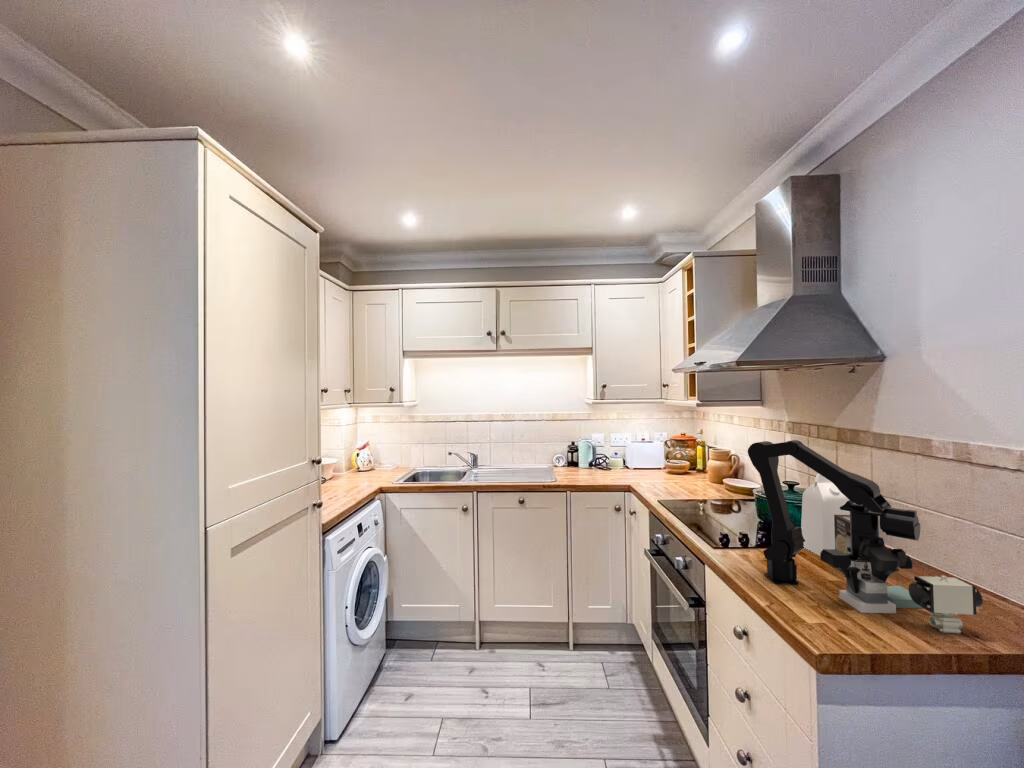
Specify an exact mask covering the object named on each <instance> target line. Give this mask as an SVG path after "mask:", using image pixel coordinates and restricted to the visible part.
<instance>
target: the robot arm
mask: <svg viewBox="0 0 1024 768" xmlns="http://www.w3.org/2000/svg"><path fill="white" fill-rule="evenodd" d="M747 454H748V457H749V459H750V461H751V464H752V465H753V467H754V468H755V470H756V471H757V472H758V473H759V476H760V480H761V484H762V487H763V492H764V496H765V500H766V502H767V503H766V504H767V507H768V510H769V515H770V519H771V521H772V525H771V533H770V538H771V545H770V546H769V547H767V548H766V549H764V550H763V551H762V553H763V555H764V558H765V560H766V572H764V573H763V574H764V576H765V577H766V578H768V579H769V580H770V581H771V582H772V583H774V584H777V585H779V584H780V585H799V581H798V580H797V579H798V574H797V573H798V571H797V568H798V566H797V564H796V560H795V559H794V558H795V557H796V555H797V554H798V553H800V552H801V551H802V550H803V549H804V548H803V546H804V544H803V542H805V539H804V538H803V535H802V529H801V526H796V525H794V523H793V522H792V519H791V515H790V514H789V510H788V506H787V501H786V498H785V495H784V491H783V487H782V483H781V479H780V476H779V473H778V472H779V471H778V468H779V461H780V460H779V459H780V458H779V457H782V456H791V457H792V458H794V459H796V460H798V462H801V463H802V464H803V465H805V466H806V467H808V468H810V469H811V470H812V471H814V472H816V474H820V475H822V476H823V477H825V478H826V479H828V480H829V481H831V482H832V483H833V484H834V485H835V486H836V487H837V488H838V489H839V491H840V492H841V493H842V494H843V495H845V496H846V497H847V498H848V499H849V501H847V502H846V503H845V504H844V505H843V506H841V507H840V509H841V510H845V511H850V531H847V535H848V536H850V538H851V547H847V551H849V552H851V554H845V553H843V552H841V551H839V550H837V549H823V550H822V551H821V553H820V556H819V557H820V560H821V561H823V562H824V563H826V564H827V565H829V566H831V567H833V568H835V569H839V568H840V569H841V570H842V571H841V570H840V569H839V570H840V571H841V572H842V573H843V575H844V577H845V580H846V579H847V581H848V583H849V585H850V587H851V589H852V591H853V592H854V593H856V594H857V592H858V580H857V574H858V572H859V571H860V569H858V568H857V567H856V562H870V563H871V569H872V575H873V576H875V577H877V578H879V579H881V580H882V581H884V582H886V581H887V580H888V578H889V576H890V575H891V574H893V573H897V572H899V571H900V569H901V570H903V569H905V570H907V569H909V570H911V569H914V564H913V560H912V558H911V556H910V555H907V554H906V551H904V550H903V549H902V548H888V547H886V545H885V540H884V538H883V537H881V536H880V530H881V531H882V532H883V533H885V535H886V536H891V537H897V538H902V539H905V540H911V541H917V542H918V541H919V540H920V536H921V522H920V521H919V520H920V519H919V517H918V513H917V510H915V509H914V510H913V509H903V508H895V507H892V505H891V504H890V503H889V501H887V499H886V498H885V497H884V496H883V494H882V493H881V489H880V486H879V484H878V483H876V482H875V481H873V480H870V479H869V478H867V477H864V476H862V475H859V474H857V473H853V472H851V471H847V470H846V469H843V468H842V467H841V466H838V465H837V464H835V463H834V462H832V461H831V460H829V459H828V458H826V457H824V456H823V455H821V454H820V453H818V452H816V451H815V450H813V449H811V448H810V447H808V446H807V445H805V444H804V443H803V442H801V441H800V440H799V439H793V440H788V441H785V442H776V443H773V442H771V441H768V440H767V441H766V440H764V441H757V442H753V443H751V445H750V446H749V447H748V448H747ZM854 503H855V504H854ZM886 583H887V582H886Z"/></svg>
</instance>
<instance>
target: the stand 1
mask: <svg viewBox="0 0 1024 768" xmlns="http://www.w3.org/2000/svg"><path fill="white" fill-rule="evenodd" d="M838 593H839V594H838V595H839V599H841V600H842V601H843V602H845V603H847V604H848V605H850V606H851V607H853V608H854V609H855V610H856V611H859V613H866V614H897V608H896V605H895V604H893V603H892V602H890V601H888V604H867V603H865V602H863V601H862V600H860V599H858V598H857V597H855V596H854V595H852V594H851V593H849V592H847V589H839V591H838Z"/></svg>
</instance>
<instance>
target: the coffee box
mask: <svg viewBox="0 0 1024 768" xmlns="http://www.w3.org/2000/svg"><path fill="white" fill-rule="evenodd" d="M834 528H835V549H837V550H839V551H841V552H843V553H845V554H851V552H849V551H847V547H851V538H850V536H848V535H847V531H850V515H834ZM856 567H857V568H858V569H860V571H859V572H868V573H869V574H871V575H872V569H871V563H870V562H856ZM838 570H840V571H841V572H842V570H841V569H840V568H838Z"/></svg>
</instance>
